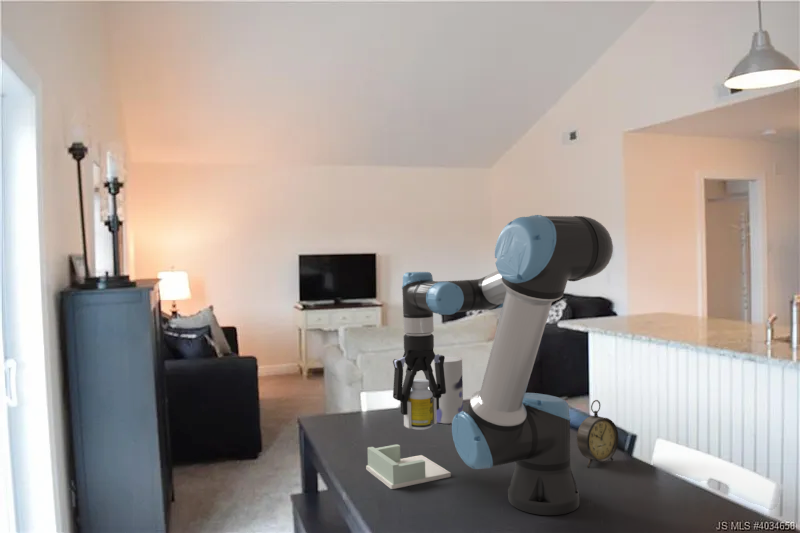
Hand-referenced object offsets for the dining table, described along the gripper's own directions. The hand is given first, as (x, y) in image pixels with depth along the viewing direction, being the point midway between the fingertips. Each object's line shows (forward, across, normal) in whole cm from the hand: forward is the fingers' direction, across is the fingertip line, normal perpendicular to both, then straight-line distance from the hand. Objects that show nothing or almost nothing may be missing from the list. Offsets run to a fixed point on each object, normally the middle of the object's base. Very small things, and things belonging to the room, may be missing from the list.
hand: (420, 424), depth 155 cm
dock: (+11, +4, 0) cm, 12 cm away
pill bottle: (+1, 0, 0) cm, 1 cm away
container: (+12, -29, -36) cm, 48 cm away
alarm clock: (+12, -41, +18) cm, 46 cm away
